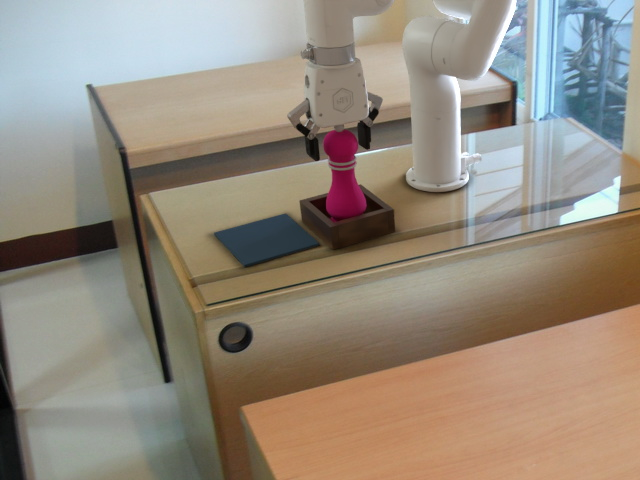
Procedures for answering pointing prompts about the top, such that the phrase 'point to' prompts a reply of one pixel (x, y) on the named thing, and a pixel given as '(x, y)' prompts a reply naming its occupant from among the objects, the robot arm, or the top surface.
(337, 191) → the pepper mill
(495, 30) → the robot arm
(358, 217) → the stand
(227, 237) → the mat
